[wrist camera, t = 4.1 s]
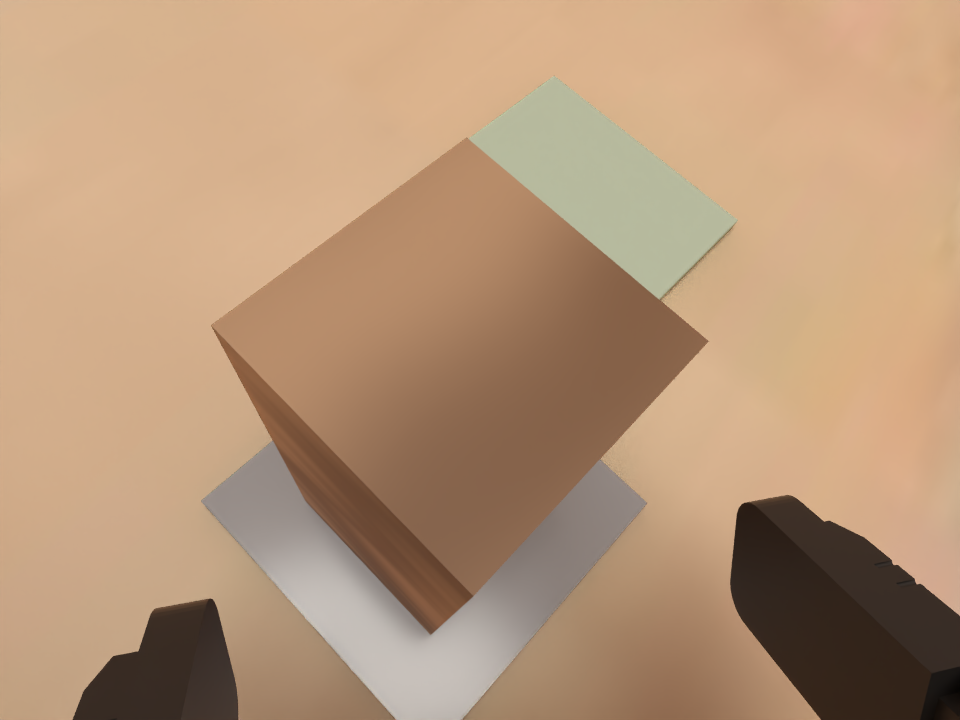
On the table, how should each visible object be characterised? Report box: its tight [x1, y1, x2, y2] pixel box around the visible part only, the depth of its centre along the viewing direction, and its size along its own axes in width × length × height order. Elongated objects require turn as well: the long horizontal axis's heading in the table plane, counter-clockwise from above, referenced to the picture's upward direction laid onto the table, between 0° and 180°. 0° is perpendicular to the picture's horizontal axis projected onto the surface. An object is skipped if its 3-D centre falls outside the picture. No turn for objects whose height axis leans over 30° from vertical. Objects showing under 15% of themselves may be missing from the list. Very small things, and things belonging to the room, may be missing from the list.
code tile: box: [201, 441, 647, 720], centre depth 20 cm, size 9×9×1 cm
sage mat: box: [469, 76, 738, 300], centre depth 25 cm, size 9×9×1 cm
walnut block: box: [211, 138, 708, 635], centre depth 15 cm, size 5×5×11 cm
